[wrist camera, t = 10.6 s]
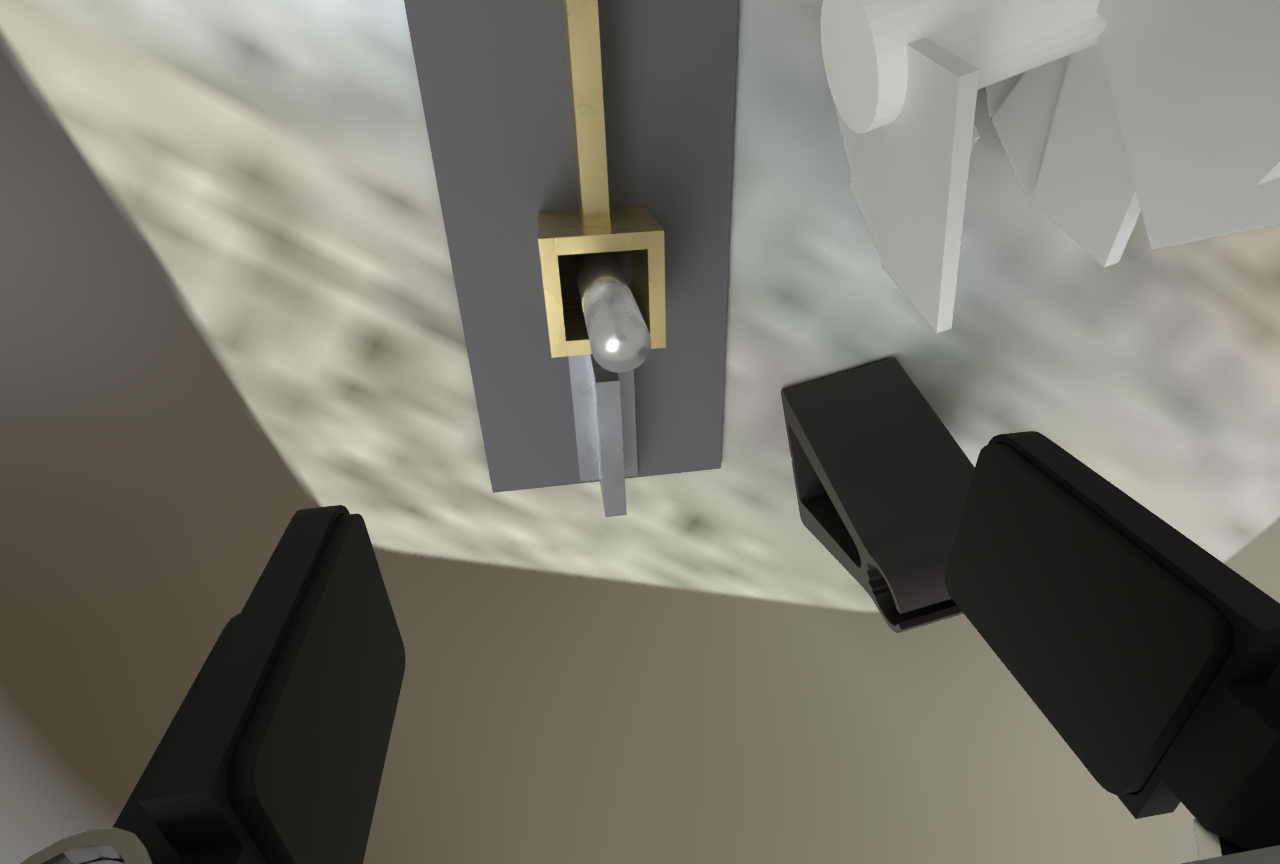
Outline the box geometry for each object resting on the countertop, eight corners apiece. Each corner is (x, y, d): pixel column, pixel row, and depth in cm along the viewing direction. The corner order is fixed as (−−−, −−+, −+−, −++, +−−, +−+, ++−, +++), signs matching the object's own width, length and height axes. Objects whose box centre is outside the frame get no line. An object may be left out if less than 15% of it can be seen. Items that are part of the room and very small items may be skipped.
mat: (405, -2, 22) (403, -3, 22) (736, -9, 23) (739, -11, 23) (493, 488, 32) (492, 492, 32) (718, 464, 34) (720, 468, 33)
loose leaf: (511, -27, 22) (504, -53, 18) (635, -30, 22) (659, -55, 18) (549, 314, 28) (551, 357, 24) (646, 307, 28) (665, 347, 24)
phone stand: (780, 387, 32) (896, 534, 22) (892, 354, 32) (1061, 486, 22) (799, 520, 37) (903, 693, 26) (898, 491, 37) (1040, 653, 26)
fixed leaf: (557, 240, 26) (567, 319, 18) (627, 236, 27) (670, 311, 18) (579, 478, 32) (595, 622, 24) (637, 472, 33) (673, 612, 24)
